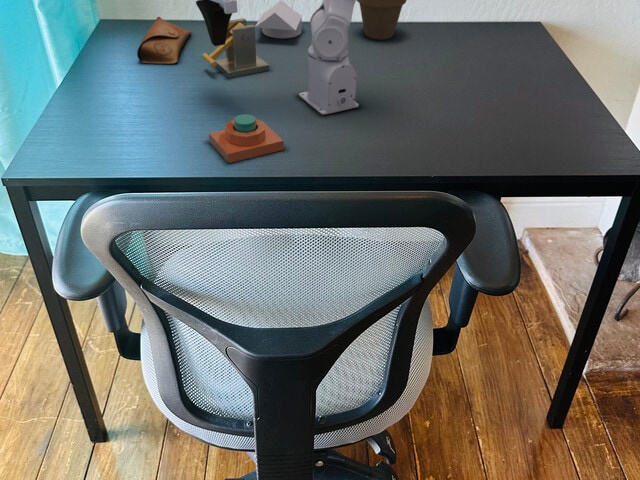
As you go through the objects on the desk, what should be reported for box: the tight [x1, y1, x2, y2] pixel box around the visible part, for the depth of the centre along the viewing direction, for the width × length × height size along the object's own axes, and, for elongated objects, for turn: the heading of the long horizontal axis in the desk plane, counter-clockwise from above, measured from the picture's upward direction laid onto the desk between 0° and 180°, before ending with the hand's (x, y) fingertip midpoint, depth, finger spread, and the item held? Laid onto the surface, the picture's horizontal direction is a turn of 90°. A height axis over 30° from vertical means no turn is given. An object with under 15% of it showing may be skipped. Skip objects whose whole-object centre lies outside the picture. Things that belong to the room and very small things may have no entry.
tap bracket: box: [214, 17, 270, 79], centre depth 132 cm, size 9×7×9 cm
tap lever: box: [201, 22, 244, 68], centre depth 131 cm, size 10×5×2 cm, turn 120°
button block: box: [208, 118, 285, 164], centre depth 110 cm, size 8×10×4 cm
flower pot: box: [356, 0, 407, 41], centre depth 148 cm, size 12×11×10 cm
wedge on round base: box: [254, 0, 303, 39], centre depth 148 cm, size 9×7×13 cm
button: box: [233, 113, 257, 133], centre depth 108 cm, size 4×4×2 cm
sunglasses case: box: [136, 16, 192, 65], centre depth 141 cm, size 18×7×7 cm, turn 0°
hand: (218, 44), depth 117 cm, fingers closed
